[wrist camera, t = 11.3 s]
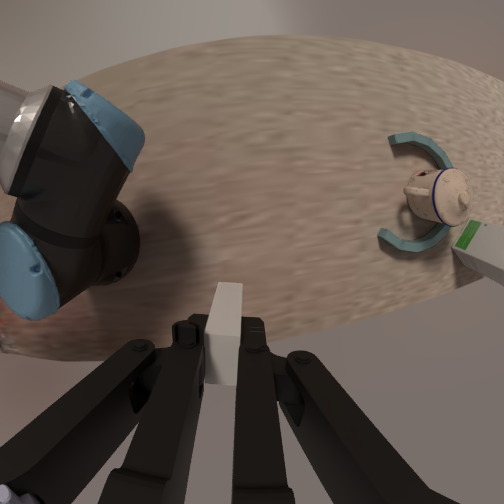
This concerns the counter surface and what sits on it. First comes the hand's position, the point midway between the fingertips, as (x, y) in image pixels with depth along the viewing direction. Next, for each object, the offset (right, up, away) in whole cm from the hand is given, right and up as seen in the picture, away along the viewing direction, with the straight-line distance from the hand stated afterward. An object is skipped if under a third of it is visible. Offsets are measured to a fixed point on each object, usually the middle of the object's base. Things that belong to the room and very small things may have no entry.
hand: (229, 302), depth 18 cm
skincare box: (+45, +5, +26) cm, 52 cm away
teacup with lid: (+31, +13, +24) cm, 41 cm away
